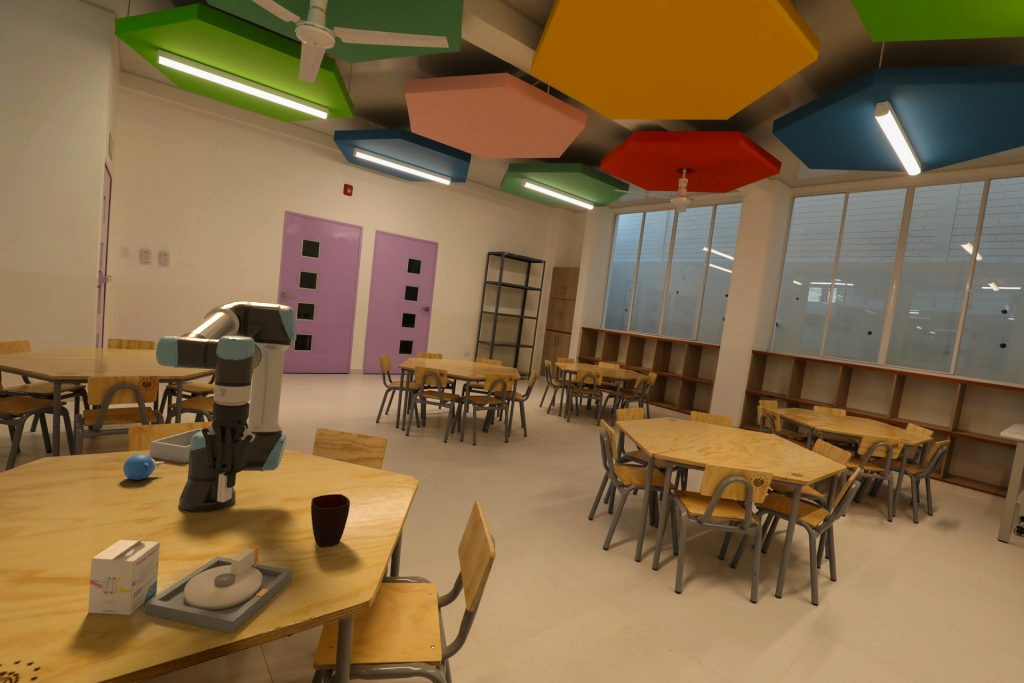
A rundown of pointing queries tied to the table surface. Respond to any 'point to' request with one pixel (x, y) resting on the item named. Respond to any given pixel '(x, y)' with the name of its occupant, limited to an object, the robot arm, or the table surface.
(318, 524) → the cup
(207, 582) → the dial
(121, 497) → the table surface
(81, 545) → the table surface
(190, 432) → the tray
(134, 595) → the ink box
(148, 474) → the blue mole toy
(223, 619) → the dial plate
